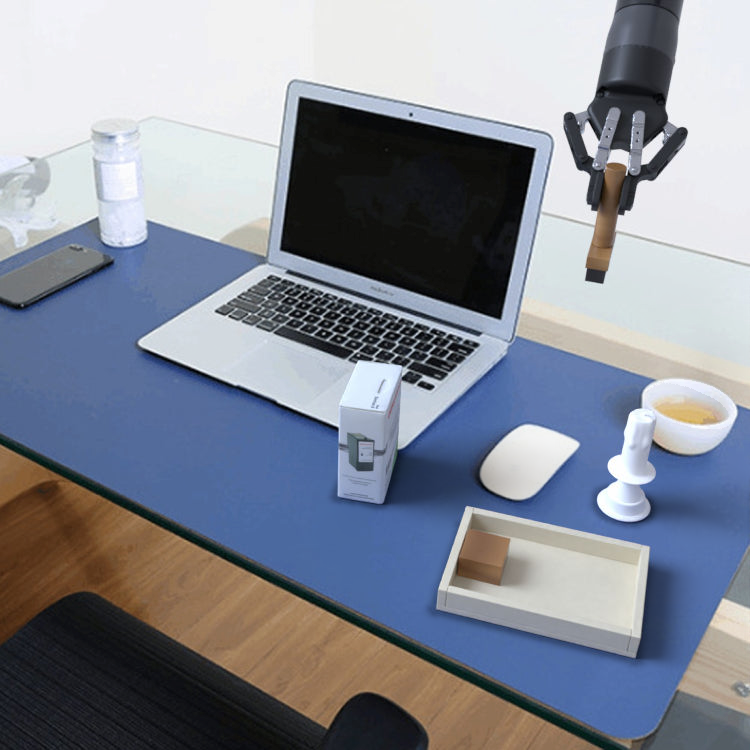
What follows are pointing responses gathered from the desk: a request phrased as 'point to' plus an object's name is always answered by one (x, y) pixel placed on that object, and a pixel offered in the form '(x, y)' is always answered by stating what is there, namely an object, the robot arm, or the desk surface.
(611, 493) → the candle
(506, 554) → the brown block
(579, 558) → the tray
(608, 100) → the robot arm
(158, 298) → the desk surface
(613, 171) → the brush
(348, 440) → the ink box
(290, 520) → the desk surface
